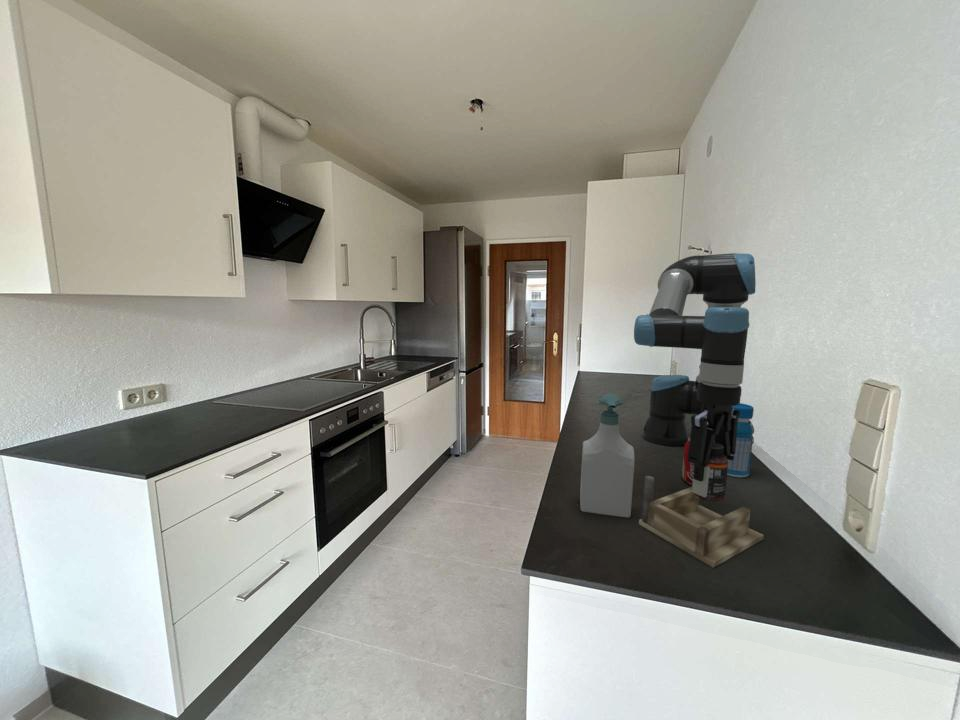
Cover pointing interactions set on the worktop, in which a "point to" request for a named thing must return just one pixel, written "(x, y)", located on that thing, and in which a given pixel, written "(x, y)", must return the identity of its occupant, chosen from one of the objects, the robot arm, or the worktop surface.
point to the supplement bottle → (716, 474)
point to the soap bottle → (607, 467)
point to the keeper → (697, 525)
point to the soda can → (687, 465)
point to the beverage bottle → (742, 442)
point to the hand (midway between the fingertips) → (708, 490)
